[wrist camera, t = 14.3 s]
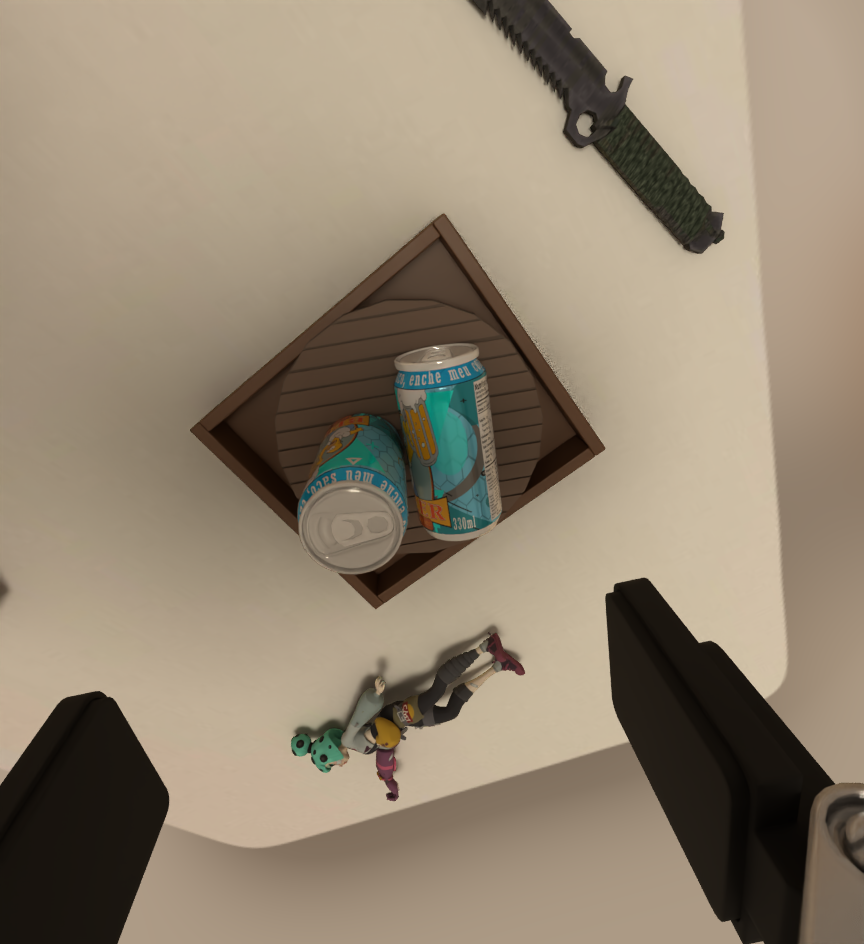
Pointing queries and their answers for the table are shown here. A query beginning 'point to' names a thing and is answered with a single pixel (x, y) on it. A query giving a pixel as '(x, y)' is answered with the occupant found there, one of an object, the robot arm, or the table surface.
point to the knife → (608, 119)
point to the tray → (401, 277)
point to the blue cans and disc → (405, 432)
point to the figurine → (401, 715)
